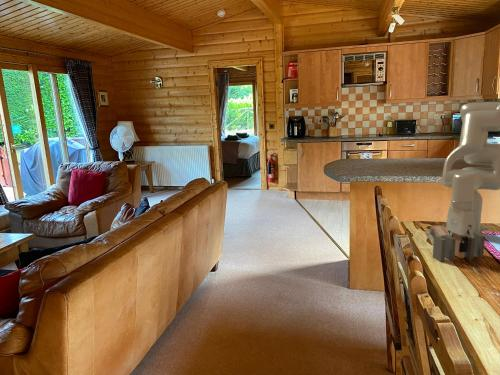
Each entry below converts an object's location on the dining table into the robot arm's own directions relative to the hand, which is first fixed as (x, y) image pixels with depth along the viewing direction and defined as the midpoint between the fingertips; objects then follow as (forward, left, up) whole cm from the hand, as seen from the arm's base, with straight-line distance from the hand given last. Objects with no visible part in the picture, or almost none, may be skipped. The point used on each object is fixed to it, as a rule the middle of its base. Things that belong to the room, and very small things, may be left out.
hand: (458, 248), depth 152 cm
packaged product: (-7, -20, -4) cm, 21 cm away
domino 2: (+4, 0, -4) cm, 6 cm away
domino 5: (-8, 0, -4) cm, 9 cm away
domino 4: (-4, 0, -4) cm, 6 cm away
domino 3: (0, 0, -3) cm, 3 cm away
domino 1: (+8, 0, -4) cm, 9 cm away
